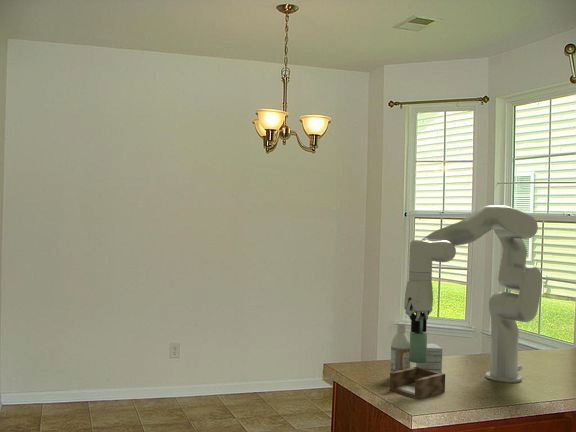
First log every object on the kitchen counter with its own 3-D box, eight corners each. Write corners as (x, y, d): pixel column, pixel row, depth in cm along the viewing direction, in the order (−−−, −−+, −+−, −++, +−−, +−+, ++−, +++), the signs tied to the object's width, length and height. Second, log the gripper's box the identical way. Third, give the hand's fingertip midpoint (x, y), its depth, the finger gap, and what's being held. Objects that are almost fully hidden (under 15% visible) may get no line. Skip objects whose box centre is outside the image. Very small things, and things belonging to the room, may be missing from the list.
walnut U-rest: (416, 383, 213) (416, 366, 213) (444, 392, 204) (445, 374, 204) (389, 390, 204) (390, 372, 204) (418, 399, 195) (419, 380, 195)
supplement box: (415, 378, 221) (416, 343, 221) (435, 378, 222) (436, 343, 222) (421, 383, 214) (422, 347, 214) (442, 383, 214) (443, 347, 214)
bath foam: (399, 381, 215) (401, 325, 215) (386, 377, 221) (387, 322, 221) (413, 379, 219) (415, 323, 219) (400, 375, 225) (401, 320, 225)
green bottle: (416, 358, 208) (417, 314, 208) (429, 361, 204) (431, 316, 204) (405, 360, 204) (407, 315, 204) (419, 364, 200) (420, 318, 200)
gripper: (426, 275, 212) (424, 327, 212) (395, 276, 202) (393, 332, 202) (444, 277, 206) (442, 331, 206) (413, 279, 196) (412, 336, 196)
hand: (418, 331), depth 204 cm, fingers closed on green bottle, 2 cm apart
